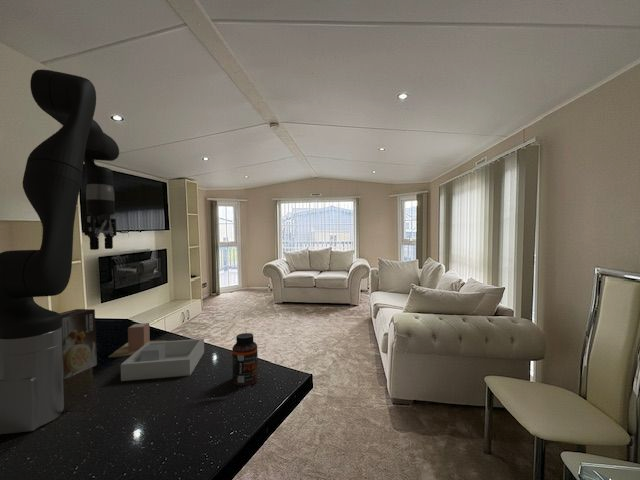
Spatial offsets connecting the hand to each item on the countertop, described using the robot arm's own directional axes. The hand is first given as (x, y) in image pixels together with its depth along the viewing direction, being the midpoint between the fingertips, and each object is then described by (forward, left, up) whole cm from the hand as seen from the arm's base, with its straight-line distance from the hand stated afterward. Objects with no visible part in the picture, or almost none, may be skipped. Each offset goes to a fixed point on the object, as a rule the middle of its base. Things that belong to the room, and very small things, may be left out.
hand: (102, 249), depth 100 cm
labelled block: (-6, -13, -31) cm, 34 cm away
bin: (-21, -26, -32) cm, 46 cm away
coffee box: (-20, -2, -32) cm, 38 cm away
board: (-6, -13, -32) cm, 35 cm away
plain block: (-21, -23, -32) cm, 44 cm away
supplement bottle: (-34, -48, -32) cm, 67 cm away
